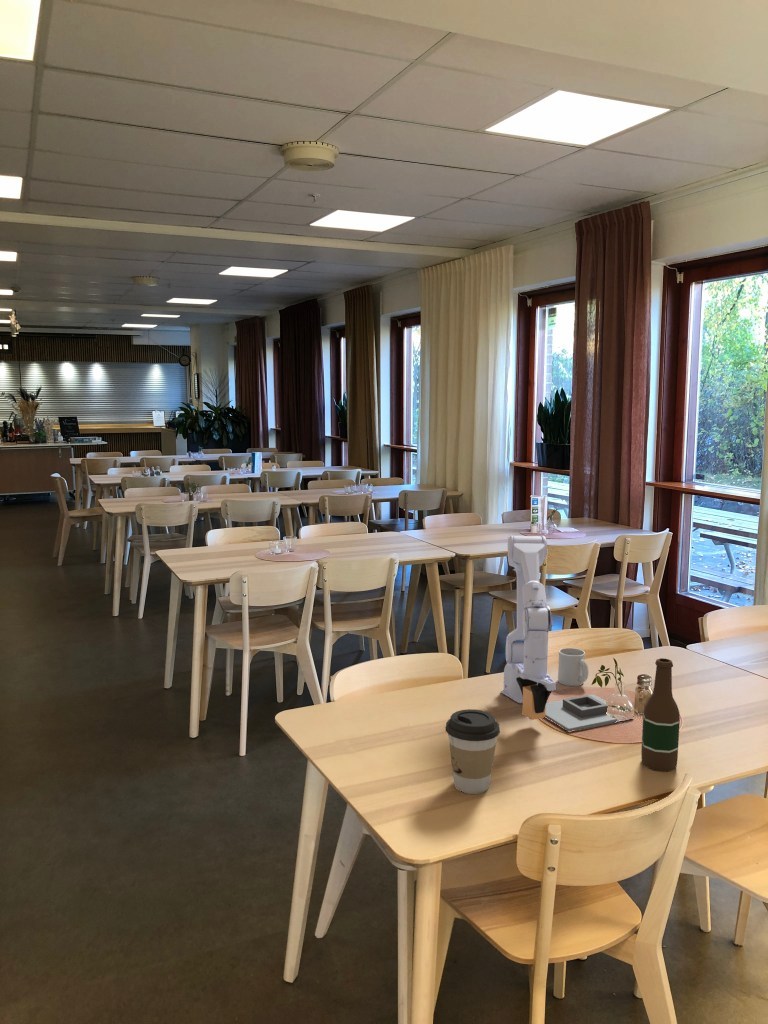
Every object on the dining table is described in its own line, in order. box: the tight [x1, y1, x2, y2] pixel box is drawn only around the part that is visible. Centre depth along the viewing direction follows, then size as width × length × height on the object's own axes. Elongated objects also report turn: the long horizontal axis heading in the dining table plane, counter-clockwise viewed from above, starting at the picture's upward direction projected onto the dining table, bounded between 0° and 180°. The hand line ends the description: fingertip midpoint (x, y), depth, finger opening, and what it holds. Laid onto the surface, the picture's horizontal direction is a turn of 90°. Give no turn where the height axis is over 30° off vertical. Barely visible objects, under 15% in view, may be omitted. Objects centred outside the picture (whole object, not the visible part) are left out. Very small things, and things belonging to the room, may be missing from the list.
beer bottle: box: [640, 657, 681, 773], centre depth 178 cm, size 8×8×24 cm
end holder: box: [545, 693, 635, 732], centre depth 208 cm, size 16×20×3 cm
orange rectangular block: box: [521, 684, 546, 721], centre depth 199 cm, size 4×4×7 cm
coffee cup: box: [445, 708, 501, 795], centre depth 169 cm, size 11×11×15 cm
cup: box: [557, 647, 589, 687], centre depth 229 cm, size 7×10×9 cm
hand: (534, 709), depth 199 cm, fingers closed on orange rectangular block, 4 cm apart
